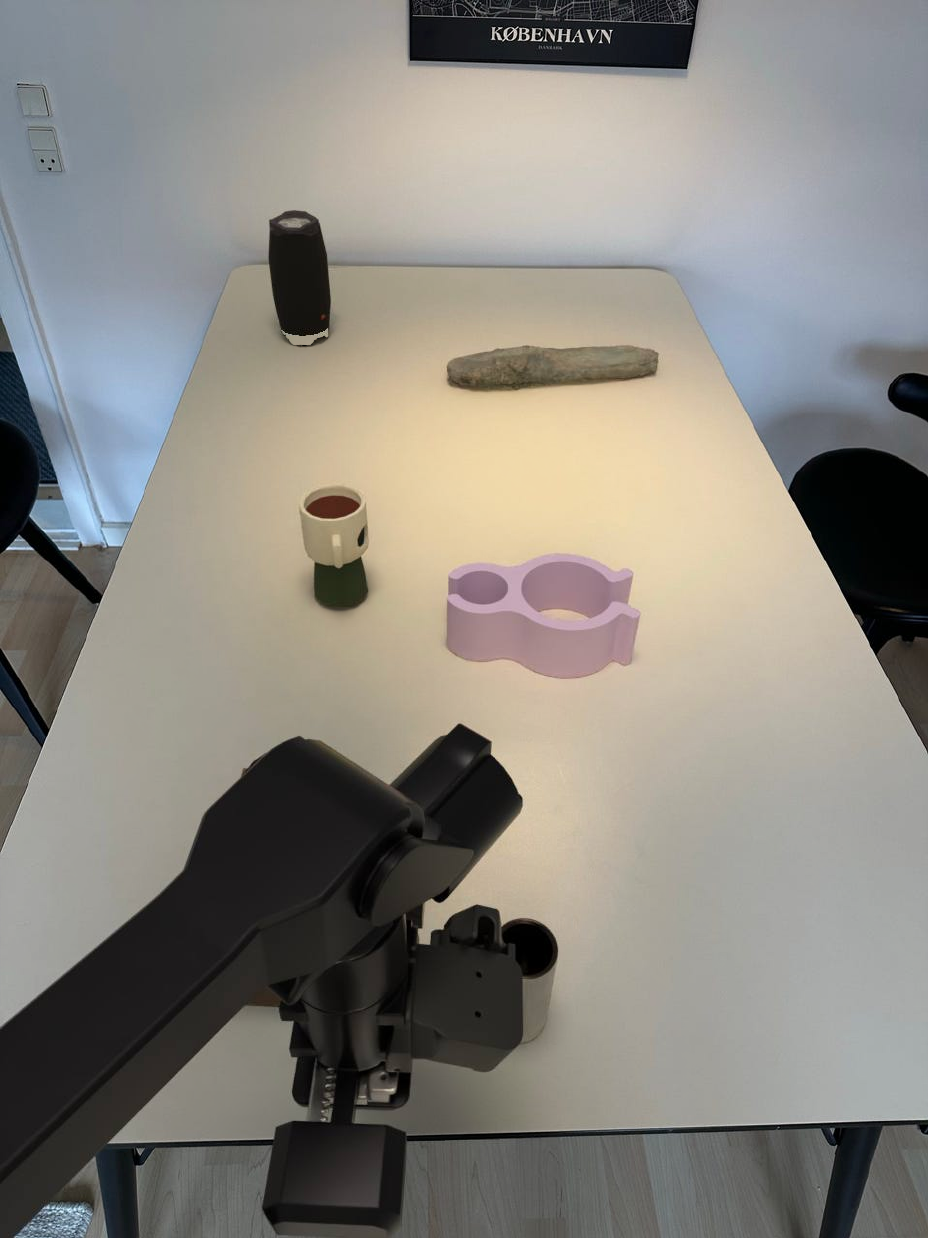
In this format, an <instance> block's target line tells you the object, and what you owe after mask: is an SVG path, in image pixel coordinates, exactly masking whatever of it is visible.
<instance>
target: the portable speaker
mask: <svg viewBox="0 0 928 1238" xmlns="http://www.w3.org/2000/svg"><path fill="white" fill-rule="evenodd" d="M268 226H269V227H268V228H269V233H268V234H269V236H268V256H267V257H268V258H267V259H268V264H269V265H268V267H269V274H270V275H269V276H270V282H271V291H272V297H273V302H274V303H273V304H274V309H275V313H276V316H277V320H278V324H279V328H280V331H281V330H283V331H284V332H285V333H288V334H292V335H299V336H306V335H314V334H318V333H320V332H323V331H325V330H326V329H327V328H328V327H329V328H330V321H331V308H332V307H331V306H332V305H331V304H332V298H331V297H332V296H331V287H330V274H329V261H328V252H327V249H326V244H325V240H324V235H323V232H322V227H321V223H320V220H319V219H318V218H317V217H316V216H314V215H312V214H311V213H309V212H307V211H306V210H298V209H293V210H286V211H285V210H284V211H283V212H282V213H281V214H279V215H277V216H275V217H273V218H270V219H268Z"/></svg>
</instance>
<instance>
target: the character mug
mask: <svg viewBox="0 0 928 1238" xmlns="http://www.w3.org/2000/svg"><path fill="white" fill-rule="evenodd" d="M298 509H299V516H300V525H301V531H302V532H301V533H302V539H303V547H304V550H305V552H306V555H307V557H308V558H309V559H311V560H312V561H313V562H314V566H313V593H314V597H315V598H316V600H318V602H320V603H322V604H325V605H328V606H333V607H335V606H336V607H348V606H355V605H357V604H359V603H360V602H362V601H363V600H365V598H366V597H367V595H368V593H369V588H368V580H367V575H366V570H365V566H364V561H363V558H362V556H363V555H364V554H365V553H366V552H367V550H368V548H369V542H370V541H369V540H370V539H369V525H368V524H369V522H368V510H367V499H366V497H365V495H364V494H363V492H362V491H361V490H360V489H358V488H356V487H355V486H351V485H348V484H344V483H326V484H322V485H321V484H320V485H316V486H315V487H313V488H311V489H309V490H307V491H306V492H305V493H304V494H302V495H301V497H300V501H299V503H298Z"/></svg>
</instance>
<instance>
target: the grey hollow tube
mask: <svg viewBox="0 0 928 1238" xmlns="http://www.w3.org/2000/svg"><path fill="white" fill-rule="evenodd" d="M501 935H502V940H503V942H504V943H505V944H508V943H511V944H515V960H516V962H517V963H518V964H519V966H520V968H521V971H522V978H523V1038H522V1040H521V1043H520V1044H525V1043H528V1042H531V1041H533V1040H534V1039H536V1038H537V1037H538V1036H539V1035H540V1034H541V1033H542V1031H543V1030H544V1028H545V1025H546V1022H547V1019H548V1013H549V1007H550V1002H551V997H552V991H553V986H554V981H555V975H556V970H557V969H556V968H557V963H558V958H559V945H558V940H557V938H556V936H555V934H554V933H553V932H552V930H551V929H550V928H549V927H548V926H546V925H545V924H544V923H542V922H541V921H539V920H537V919H533V918H528V917H520V918H514V919H511V920H509V921H507V922H505V923H504V924H503V925H501Z"/></svg>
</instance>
